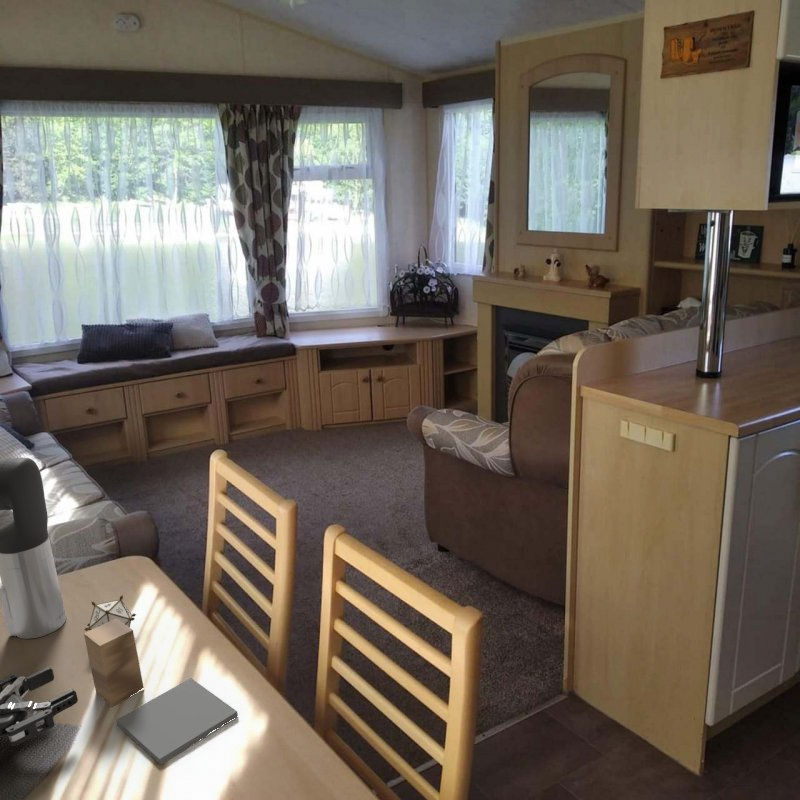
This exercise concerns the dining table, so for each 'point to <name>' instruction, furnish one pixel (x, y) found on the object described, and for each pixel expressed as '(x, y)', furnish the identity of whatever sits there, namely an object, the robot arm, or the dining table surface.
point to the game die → (110, 613)
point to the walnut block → (114, 661)
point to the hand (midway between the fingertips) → (63, 683)
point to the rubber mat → (175, 720)
